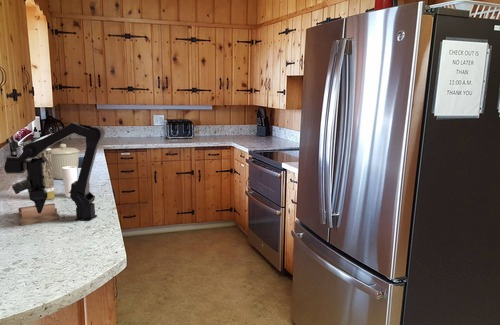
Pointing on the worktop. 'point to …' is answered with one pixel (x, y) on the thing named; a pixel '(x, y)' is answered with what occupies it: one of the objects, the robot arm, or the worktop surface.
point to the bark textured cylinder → (48, 174)
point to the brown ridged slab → (38, 217)
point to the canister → (63, 159)
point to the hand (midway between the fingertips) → (38, 210)
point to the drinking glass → (69, 178)
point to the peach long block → (33, 212)
